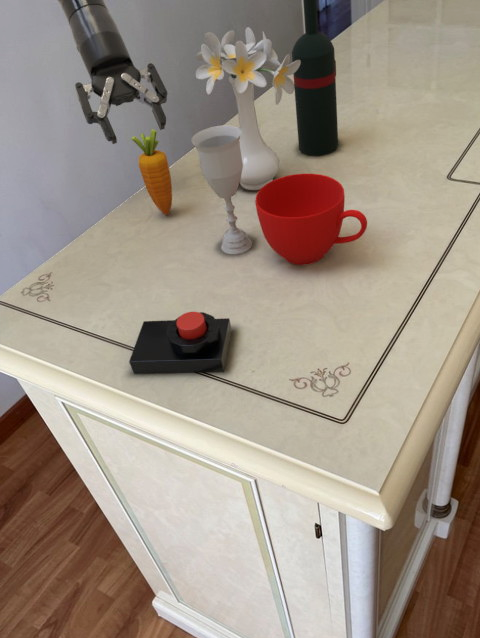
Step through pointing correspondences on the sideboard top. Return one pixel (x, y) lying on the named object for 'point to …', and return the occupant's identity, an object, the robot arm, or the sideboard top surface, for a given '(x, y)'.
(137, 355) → the black flat block
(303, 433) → the sideboard top surface
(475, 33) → the sideboard top surface
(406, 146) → the sideboard top surface
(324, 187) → the ceramic cup
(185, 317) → the red short cylinder
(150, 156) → the carrot
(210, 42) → the flower vase
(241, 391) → the sideboard top surface
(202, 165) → the chalice
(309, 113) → the wine bottle
